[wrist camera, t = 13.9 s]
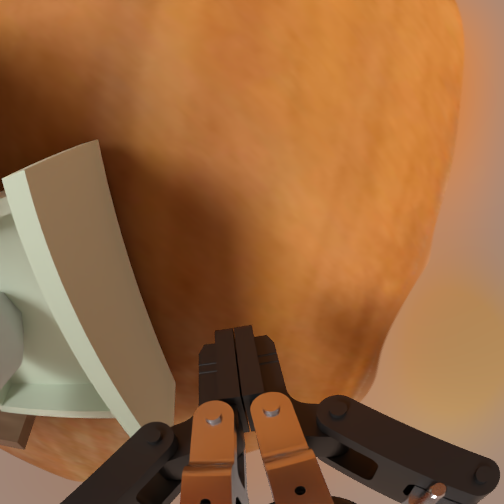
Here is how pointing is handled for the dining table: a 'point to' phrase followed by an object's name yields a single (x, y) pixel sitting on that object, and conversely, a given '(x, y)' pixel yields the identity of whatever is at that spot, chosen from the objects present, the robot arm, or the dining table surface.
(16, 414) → the cabinet
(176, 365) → the dining table surface
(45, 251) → the drawer
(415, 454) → the robot arm
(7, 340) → the salt shaker
